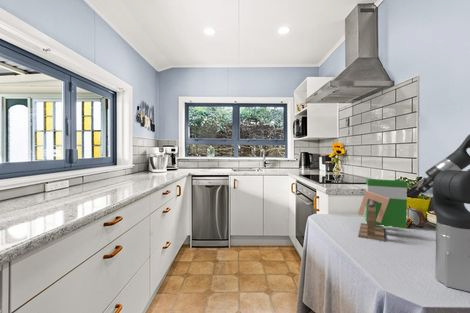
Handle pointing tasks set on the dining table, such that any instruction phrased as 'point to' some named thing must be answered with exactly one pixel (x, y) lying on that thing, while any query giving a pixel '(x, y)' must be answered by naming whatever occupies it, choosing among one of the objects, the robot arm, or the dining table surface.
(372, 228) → the wooden rack with bar
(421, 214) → the tin
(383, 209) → the pink c-shaped hook
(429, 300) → the dining table surface
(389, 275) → the dining table surface
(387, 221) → the hardback book
